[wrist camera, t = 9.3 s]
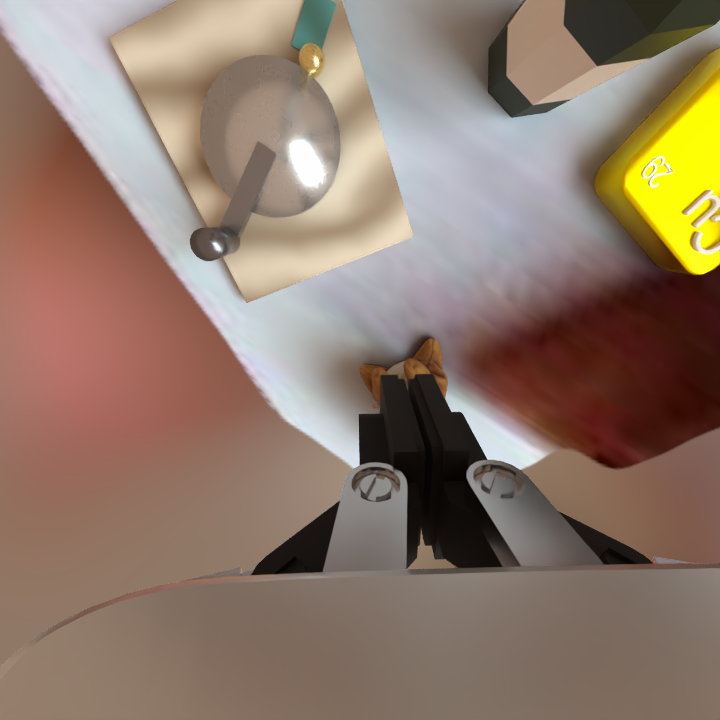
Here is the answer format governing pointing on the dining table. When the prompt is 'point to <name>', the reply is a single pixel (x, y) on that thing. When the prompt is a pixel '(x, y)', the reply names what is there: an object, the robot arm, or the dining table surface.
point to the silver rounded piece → (267, 143)
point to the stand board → (345, 91)
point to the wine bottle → (583, 46)
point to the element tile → (672, 176)
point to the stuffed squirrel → (409, 369)
